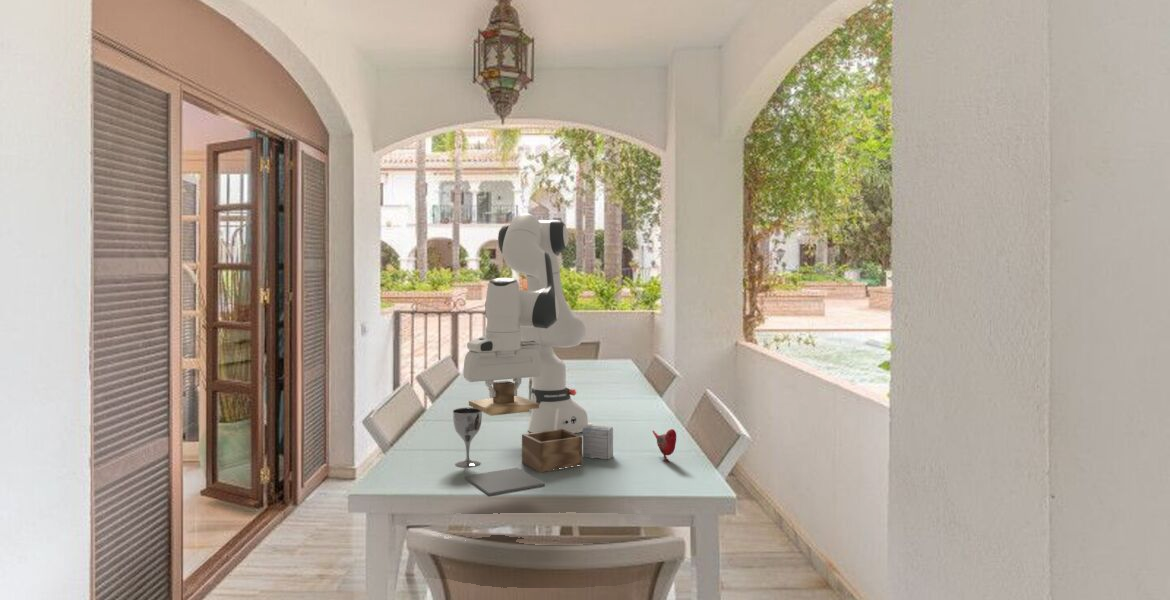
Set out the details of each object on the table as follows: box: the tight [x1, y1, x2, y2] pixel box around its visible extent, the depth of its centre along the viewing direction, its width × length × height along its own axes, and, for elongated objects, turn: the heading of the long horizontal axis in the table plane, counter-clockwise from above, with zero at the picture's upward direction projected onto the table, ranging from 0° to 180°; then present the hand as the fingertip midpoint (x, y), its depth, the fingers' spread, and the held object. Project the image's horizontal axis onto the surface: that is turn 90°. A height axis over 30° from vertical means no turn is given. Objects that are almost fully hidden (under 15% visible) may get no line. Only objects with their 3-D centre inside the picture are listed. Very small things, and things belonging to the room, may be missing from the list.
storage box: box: [521, 429, 583, 473], centre depth 199 cm, size 13×11×8 cm
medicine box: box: [582, 424, 614, 460], centre depth 207 cm, size 8×4×9 cm, turn 71°
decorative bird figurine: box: [652, 428, 677, 463], centre depth 205 cm, size 3×18×10 cm, turn 15°
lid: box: [468, 380, 539, 417], centre depth 182 cm, size 14×12×7 cm
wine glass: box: [452, 407, 483, 469], centre depth 199 cm, size 8×8×15 cm
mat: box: [464, 467, 546, 496], centre depth 183 cm, size 15×16×1 cm
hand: (503, 396), depth 182 cm, fingers closed on lid, 4 cm apart
